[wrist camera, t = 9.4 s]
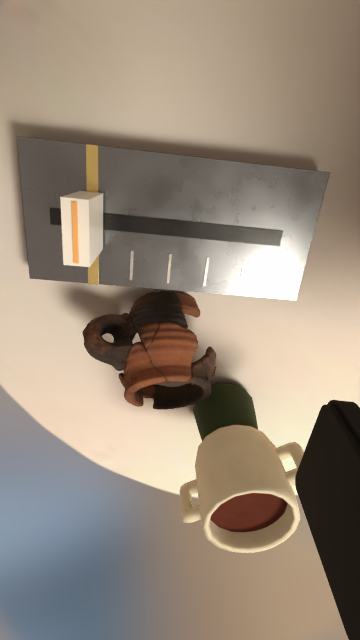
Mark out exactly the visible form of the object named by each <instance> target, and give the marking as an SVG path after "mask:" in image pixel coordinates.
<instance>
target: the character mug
mask: <svg viewBox="0 0 360 640" xmlns="http://www.w3.org/2000/svg"><path fill="white" fill-rule="evenodd" d="M193 411H194V415H195V419H196V423H197V426H198V430H199V433H200V436H201V439H202V443H201V444H200V445H199V447H198V451H197V457H196V463H195V469H196V478H197V479H195V480H193V481H190V482H188V483H185V484H184V485H182V486H181V489H180V505H181V517H182V520H183V522H186V523H191V522H194V521H197V520H200V519H201V523H202V528H203V530H204V533H205V535H206V538H207V539H208V540H209V541H210V542H212V543H213V544H214V545H216V546H217V547H219V548H222V549H225V550H228V551H231V552H242V553H252V552H259V551H264V550H267V549H270V548H273V547H275V546H277V545H279V544H280V543H282V542H284V541H285V540H287V539H288V538H289V536H291V534H292V533H293V532H294V531H295V530H296V528H297V525H298V523H299V520H300V513H299V507H298V503H297V500H296V497H295V494H294V492H293V489H292V487H291V486H292V485H295V476H296V473H297V470H298V467H299V465H300V462H301V460H302V457H303V454H304V452H303V450H302V448H301V446H300V445H299V444H297V443H295V442H293V443H288V444H286V445H283V446H280V447H278V448H276V447H275V445H274V444H273V443H272V442H271V441H270V440H269V439H268V438H267V437H266V435H265V434H264V433H263V432H261V431H259V430H258V427H257V421H256V415H255V410H254V405H253V401H252V397H251V396H250V395H249V394H248V393H247V392H246V391H245V390H244V389H243V388H240V387H238V386H236V385H233V384H215V385H213V386H211V394H210V395H209V396H208V397H207V398H205V399H204V400H202V401H200V402H198V403H195V406H194V409H193ZM289 457H293V460H294V462H295V464H296V466H297V468H296V469H293V470H290V471H288V472H285V469H284V467H283V464H282V462H281V460H284V459H286V458H289ZM197 492H198V497H199V505H197V506H194V507H192V505H191V495H192V494H195V493H197Z"/></svg>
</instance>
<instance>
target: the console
mask: <svg viewBox="0 0 360 640" xmlns="http://www.w3.org/2000/svg"><path fill="white" fill-rule="evenodd" d="M17 145H18V156H19V166H20V177H21V188H22V199H23V210H24V221H25V232H26V242H27V253H28V264H29V275H30V278H31V279H43V280H55V281H67V282H80V283H88V284H104V285H116V286H128V287H141V288H153V289H165V290H177V291H189V292H202V293H214V294H226V295H238V296H250V297H262V298H275V299H287V300H296V298H297V294H298V290H299V287H300V283H301V279H302V275H303V272H304V268H305V264H306V260H307V257H308V253H309V249H310V246H311V242H312V238H313V234H314V231H315V227H316V223H317V219H318V216H319V212H320V208H321V205H322V201H323V197H324V193H325V190H326V186H327V182H328V178H329V175H330V172H321V171H313V170H304V169H296V168H287V167H278V166H270V165H261V164H253V163H244V162H235V161H227V160H218V159H210V158H201V157H192V156H184V155H175V154H167V153H158V152H149V151H141V150H132V149H124V148H115V147H106V146H98V145H90V144H81V143H72V142H63V141H55V140H46V139H38V138H29V137H20V136H17ZM78 191H87V192H96V193H103V250H102V251H101V252H100V254H99V255H98V256H97V258H96V259H95V260H94V262H93V263H92V265H91V266H90V267H82V266H70V265H63V245H62V223H61V202H60V197H62V196H65V195H68V194H72V193H75V192H78Z"/></svg>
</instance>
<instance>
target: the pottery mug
mask: <svg viewBox="0 0 360 640" xmlns="http://www.w3.org/2000/svg"><path fill="white" fill-rule="evenodd" d="M183 313H184V314H188V315H191V316H194V317H196V318H197V317H199V316H200V310H199V308H198V306H197V304H196V301H195V299H194V298H192V297H191V296H189V295H186V294H183V293H178V292H172V291H160V292H152V293H148V294H146V295H144V296H142V297H140V298H138V299H137V300H135V302H134V305H133V307H132V309H131V312H130V313H129V314H128V313H123V314H121V315H117V314H109V315H104V316H101V317H97V318H95V319H94V320H92V321H90V322H89V323H88V325H87V327H86V328H85V329H84V331H83V336H84V346H85V348H86V350H87V352H88V353H89V354H90V355H91V356H92V357H94V358H95V359H97V360H99V361H101V362H104V363H107V364H110V365H112V366H113V367H114V368H115V369H116V370H118V371H122V370H123V369H124V374H123V373H120V374H119V379H120V381H121V383H122V385H123V386H124V387H125V392H124V397H125V399H126V400H127V401H128V402H129V403H131V404H133V405H135V406H143V398H153V399H154V404H153V408H154V409H174V408H180V407H185V406H188V405H192V404H195V403H198V402H200V401H202V400H204V399H205V398H207V397H208V396H209V395H210V394H211V379H212V378H213V376H214V374H215V370H216V366H215V358H216V353H215V352H214V350H213V348H211V347H208V348H207V350H206V354H205V355H204V356H203V357H202V358H201V359H199V360H198V361H196V362H194V363H192V361H193V359H194V355H195V352H196V349H197V346H198V341H197V337H196V335H195V334H194V333H193V332H192V331H190V330H188V329H187V327H188V325H187V322H186V319H185V317H184V314H183ZM106 333H109V334H112V336H113V337H114V342H113V343H109V342H107V341H105V340H104V339H103V338H102V335H104V334H106ZM136 333H138V334H139V336H140V339H141V342H137V343H134V344H132V340H133V338H134V337H135V335H136ZM166 381H168V382H190V383H193V385H192V384H186V385H182V386H179V387H167V386H162V385H155V384H156V383H163V382H166Z"/></svg>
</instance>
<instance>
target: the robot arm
mask: <svg viewBox="0 0 360 640" xmlns="http://www.w3.org/2000/svg"><path fill="white" fill-rule="evenodd" d="M295 485H296V490H297V493H298V495H299V498H300V501H301V504H302V507H303V510H304V513H305V515H306V518H307V521H308V524H309V527H310V530H311V533H312V536H313V539H314V542H315V544H316V547H317V550H318V553H319V556H320V558H321V561H322V565H323V567H324V570H325V573H326V576H327V579H328V582H329V585H330V588H331V591H332V593H333V596H334V599H335V602H336V605H337V608H338V610H339V613H340V616H341V619H342V622H343V625H344V628H345V631H346V634H347V636H348V638H349V640H360V408H359V406H358V405H357V404H356V403H354V402H347V401H338V400H331V401H330V402H329V403H328V404H327V405H323V406H322V408H321V410H320V412H319V415H318V418H317V420H316V423H315V425H314V428H313V431H312V433H311V436H310V439H309V441H308V444H307V446H306V449H305V452H304V454H303V457H302V460H301V462H300V465H299V467H298V470H297V473H296V476H295Z"/></svg>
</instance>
